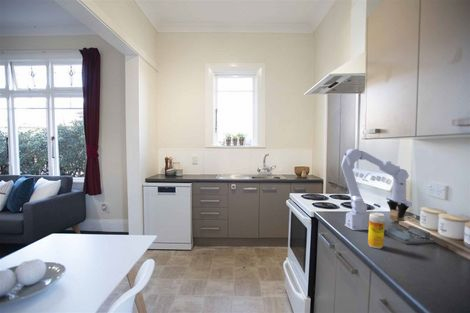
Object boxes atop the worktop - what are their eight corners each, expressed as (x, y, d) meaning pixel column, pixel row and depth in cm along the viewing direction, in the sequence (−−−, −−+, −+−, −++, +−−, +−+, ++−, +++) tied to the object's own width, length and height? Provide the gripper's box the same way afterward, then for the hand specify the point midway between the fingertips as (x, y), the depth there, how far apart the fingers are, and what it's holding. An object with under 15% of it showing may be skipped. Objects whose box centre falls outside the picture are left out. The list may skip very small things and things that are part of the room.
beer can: (375, 249, 107) (377, 216, 106) (364, 244, 113) (366, 212, 112) (386, 248, 109) (388, 215, 108) (375, 242, 115) (377, 211, 114)
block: (396, 221, 128) (397, 212, 127) (390, 218, 132) (390, 209, 132) (404, 221, 129) (404, 211, 128) (397, 218, 133) (397, 209, 133)
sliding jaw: (404, 240, 115) (405, 233, 115) (388, 232, 125) (388, 226, 125) (409, 239, 115) (410, 233, 115) (392, 231, 125) (393, 226, 125)
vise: (405, 244, 114) (406, 234, 114) (385, 234, 126) (386, 226, 125) (434, 242, 117) (435, 233, 116) (412, 233, 128) (412, 224, 128)
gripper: (417, 193, 123) (415, 220, 124) (394, 188, 137) (392, 211, 138) (405, 194, 122) (403, 220, 122) (383, 188, 136) (381, 212, 137)
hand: (397, 216), depth 130 cm, fingers closed on block, 4 cm apart
